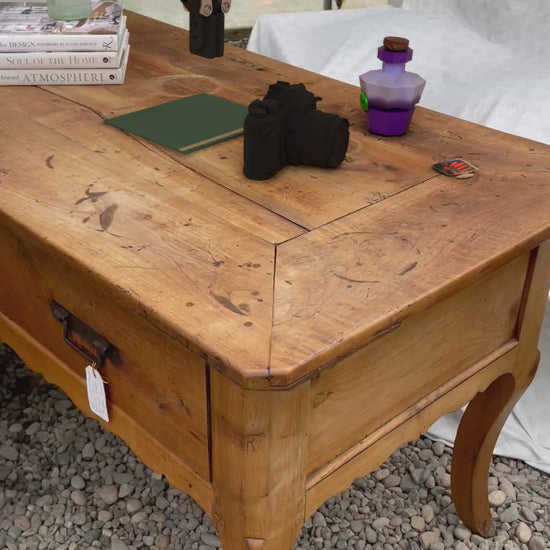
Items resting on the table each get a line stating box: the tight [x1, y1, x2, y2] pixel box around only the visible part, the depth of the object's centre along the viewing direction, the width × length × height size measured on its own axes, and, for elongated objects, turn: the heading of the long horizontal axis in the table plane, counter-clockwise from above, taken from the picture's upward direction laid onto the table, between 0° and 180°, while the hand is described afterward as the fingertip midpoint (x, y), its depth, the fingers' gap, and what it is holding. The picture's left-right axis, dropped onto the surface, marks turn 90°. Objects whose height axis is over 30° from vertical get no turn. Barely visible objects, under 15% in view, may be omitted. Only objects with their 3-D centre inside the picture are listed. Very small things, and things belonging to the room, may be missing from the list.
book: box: [103, 92, 249, 155], centre depth 104 cm, size 18×16×1 cm
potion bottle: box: [358, 35, 427, 138], centre depth 100 cm, size 9×9×12 cm
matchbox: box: [431, 157, 479, 179], centre depth 91 cm, size 5×5×1 cm
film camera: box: [242, 79, 351, 181], centre depth 90 cm, size 15×10×9 cm, turn 154°
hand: (206, 54), depth 75 cm, fingers closed
